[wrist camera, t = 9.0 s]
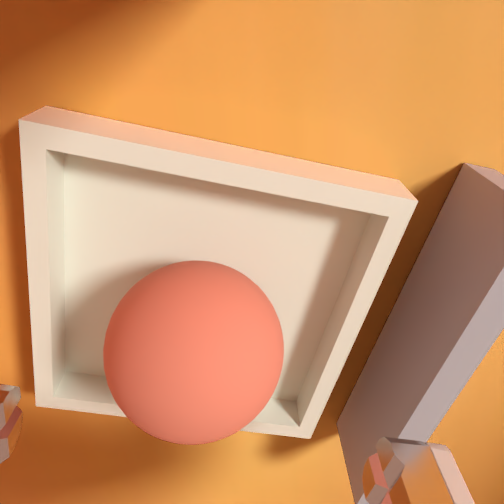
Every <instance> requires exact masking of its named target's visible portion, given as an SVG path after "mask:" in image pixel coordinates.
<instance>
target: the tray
mask: <svg viewBox="0 0 504 504" xmlns="http://www.w3.org/2000/svg"><path fill="white" fill-rule="evenodd" d="M19 135H20V152H21V168H22V185H23V201H24V218H25V235H26V251H27V268H28V284H29V301H30V318H31V334H32V351H33V367H34V384H35V401H36V406H39V407H47V408H55V409H64V410H72V411H81V412H89V413H97V414H106V415H114V416H122V417H127V416H126V415H125V414H124V413H123V411H122V410H121V409H120V408H119V406H118V405H117V403H116V401H115V400H114V398H113V396H112V394H111V392H110V389H109V387H108V384H107V380H106V376H105V371H104V361H103V348H104V341H105V334H106V331H107V328H108V325H109V322H110V319H111V316H112V314H113V313H114V311H115V309H116V307H117V305H118V304H119V302H120V300H121V299H122V298H123V297H124V295H125V294H126V293H127V292H128V291H129V290H130V289H131V288H132V287H133V286H134V285H135V284H136V283H137V282H138V281H139V280H141V279H142V278H144V277H145V276H147V275H148V274H150V273H151V272H153V271H155V270H157V269H159V268H162V267H164V266H167V265H170V264H173V263H178V262H182V261H192V260H197V261H210V262H215V263H219V264H223V265H226V266H228V267H231V268H233V269H235V270H237V271H239V272H241V273H242V274H244V275H245V276H247V277H248V278H249V279H251V280H252V281H253V282H254V283H255V284H256V285H258V286H259V287H260V289H261V290H262V291H263V292H264V293H265V295H266V296H267V297H268V299H269V300H270V302H271V303H272V305H273V307H274V309H275V311H276V314H277V316H278V318H279V321H280V325H281V329H282V334H283V341H284V358H283V366H282V371H281V375H280V378H279V381H278V384H277V386H276V389H275V391H274V393H273V395H272V396H271V398H270V400H269V401H268V403H267V404H266V406H265V407H264V409H263V410H262V411H261V412H260V413H259V414H258V415H257V416H256V417H255V418H254V420H252V421H251V422H250V423H249V424H248V425H246V426H245V427H243V428H242V429H241V430H240V431H248V432H256V433H265V434H273V435H282V436H290V437H298V438H307V439H310V438H311V436H312V434H313V432H314V430H315V427H316V425H317V423H318V421H319V419H320V416H321V414H322V412H323V410H324V408H325V405H326V403H327V401H328V399H329V397H330V394H331V392H332V390H333V388H334V386H335V383H336V381H337V379H338V377H339V375H340V373H341V370H342V368H343V366H344V364H345V362H346V359H347V357H348V355H349V353H350V351H351V348H352V346H353V344H354V342H355V340H356V337H357V335H358V333H359V331H360V329H361V326H362V324H363V322H364V320H365V318H366V315H367V313H368V311H369V309H370V307H371V304H372V302H373V300H374V298H375V296H376V293H377V291H378V289H379V287H380V285H381V282H382V280H383V278H384V276H385V274H386V271H387V269H388V267H389V265H390V263H391V260H392V258H393V256H394V254H395V252H396V249H397V247H398V245H399V243H400V241H401V238H402V236H403V234H404V232H405V230H406V227H407V225H408V223H409V221H410V219H411V216H412V214H413V212H414V210H415V208H416V205H417V203H418V200H417V199H416V198H415V197H414V196H413V195H412V194H411V192H410V191H409V190H408V189H407V188H406V187H405V186H404V185H403V184H402V183H401V182H400V181H399V180H397V179H393V178H388V177H383V176H378V175H374V174H369V173H364V172H359V171H355V170H350V169H345V168H340V167H336V166H331V165H326V164H321V163H317V162H312V161H307V160H302V159H298V158H293V157H288V156H283V155H279V154H274V153H269V152H264V151H260V150H255V149H250V148H245V147H241V146H236V145H231V144H226V143H222V142H217V141H212V140H207V139H203V138H198V137H193V136H188V135H184V134H179V133H174V132H169V131H165V130H160V129H155V128H150V127H146V126H141V125H136V124H131V123H127V122H122V121H117V120H112V119H108V118H103V117H98V116H93V115H89V114H84V113H79V112H74V111H69V110H65V109H60V108H55V107H50V106H44V107H42V108H40V109H38V110H36V111H34V112H32V113H30V114H28V115H26V116H24V117H22V118H20V119H19Z"/></svg>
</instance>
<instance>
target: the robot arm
mask: <svg viewBox="0 0 504 504" xmlns="http://www.w3.org/2000/svg"><path fill="white" fill-rule="evenodd" d="M20 398H21V394H20V387H16V386H10V385H4V384H0V463H2V462H3V461H5V460H6V459H7V458H9V457H10V455H11V453H12V451H13V449H14V447H15V445H16V443H17V440H18V437H19V434H20V432H21V428H22V421H23V416H22V411H21V410H20V409H19V408H18V407H17V406H16V405H17V404H18V402H19V400H20ZM375 446H376V450H377V453H376V454H374V455H372V456H370V457H368V459H367V461H366V463H365V465H364V469H363V476H362V481H363V490H364V495H365V499H366V501H367V502H368V503H369V504H475V503H474V501H473V498H472V496H471V494H470V492H469V490H468V488H467V485H466V483H465V481H464V479H463V477H462V475H461V472H460V470H459V468H458V466H457V464H456V462H455V460H454V457H453V455H452V453H451V451H450V450H449V449H448V447H447V446H446V445H441V444H434V443H426V442H422V441H415V440H407V439H399V438H391V437H383V438H381V439H379V441H378V442H377V444H376V445H375Z"/></svg>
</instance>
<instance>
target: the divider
mask: <svg viewBox="0 0 504 504" xmlns="http://www.w3.org/2000/svg"><path fill="white" fill-rule="evenodd" d="M503 329H504V175H502V174H501V173H499V172H498V171H496V170H495V169H490V168H486V167H481V166H477V165H472V164H468V163H464V164H463V166H462V168H461V170H460V172H459V174H458V176H457V178H456V180H455V182H454V184H453V186H452V188H451V190H450V192H449V195H448V197H447V199H446V201H445V203H444V205H443V207H442V209H441V211H440V213H439V215H438V217H437V219H436V221H435V223H434V225H433V227H432V229H431V231H430V233H429V235H428V237H427V239H426V241H425V244H424V246H423V248H422V250H421V252H420V254H419V256H418V258H417V260H416V262H415V264H414V266H413V268H412V270H411V272H410V274H409V276H408V278H407V280H406V282H405V284H404V286H403V288H402V290H401V293H400V295H399V297H398V299H397V301H396V303H395V305H394V307H393V309H392V311H391V313H390V315H389V317H388V319H387V321H386V323H385V325H384V327H383V329H382V331H381V333H380V335H379V337H378V339H377V342H376V344H375V346H374V348H373V350H372V352H371V354H370V356H369V358H368V360H367V362H366V364H365V366H364V368H363V370H362V372H361V374H360V376H359V378H358V380H357V382H356V384H355V386H354V388H353V390H352V393H351V395H350V397H349V399H348V401H347V403H346V405H345V407H344V409H343V411H342V413H341V415H340V417H339V419H338V421H337V423H336V424H337V429H338V433H339V437H340V441H341V446H342V450H343V454H344V459H345V463H346V467H347V472H348V476H349V480H350V484H351V489H352V493H353V497H354V502H355V504H369V503H368V502H367V501H366V499H365V495H364V490H363V481H362V476H363V469H364V465H365V463H366V461H367V459H368V457H370V456H372V455H374V454H376V453H377V450H376V446H375V445H376V444H377V442H378V441H379V439H381V438H383V437H391V438H399V439H407V440H415V441H422V442H427V441H428V439H429V438H430V436H431V435H432V433H433V432H434V430H435V429H436V427H437V426H438V424H439V423H440V422H441V420H442V419H443V417H444V416H445V414H446V413H447V411H448V410H449V408H450V407H451V405H452V404H453V402H454V401H455V399H456V398H457V396H458V395H459V394H460V392H461V391H462V389H463V388H464V386H465V385H466V383H467V382H468V380H469V379H470V377H471V376H472V374H473V373H474V371H475V370H476V368H477V367H478V366H479V364H480V363H481V361H482V360H483V358H484V357H485V355H486V354H487V352H488V351H489V349H490V348H491V346H492V345H493V343H494V342H495V340H496V339H497V338H498V336H499V335H500V333H501V332H502V330H503Z"/></svg>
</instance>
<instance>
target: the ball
mask: <svg viewBox="0 0 504 504" xmlns="http://www.w3.org/2000/svg"><path fill="white" fill-rule="evenodd" d="M283 358H284V341H283V334H282V329H281V325H280V321H279V318H278V316H277V314H276V311H275V309H274V307H273V305H272V303H271V302H270V300H269V299H268V297H267V296H266V295H265V293H264V292H263V291H262V290H261V289H260V287H259V286H258V285H256V284H255V283H254V282H253V281H252V280H251V279H249V278H248V277H247V276H245V275H244V274H242V273H241V272H239V271H237V270H235V269H233V268H231V267H228V266H226V265H223V264H219V263H215V262H210V261H197V260H192V261H182V262H178V263H173V264H170V265H167V266H164V267H162V268H159V269H157V270H155V271H153V272H151V273H150V274H148V275H147V276H145V277H144V278H142V279H141V280H139V281H138V282H137V283H136V284H135V285H134V286H133V287H132V288H131V289H130V290H129V291H128V292H127V293H126V294H125V295H124V297H123V298H122V299H121V300H120V302H119V304H118V305H117V307H116V309H115V311H114V313H113V314H112V316H111V319H110V322H109V325H108V328H107V331H106V334H105V341H104V348H103V361H104V371H105V376H106V380H107V384H108V387H109V389H110V392H111V394H112V396H113V398H114V400H115V401H116V403H117V405H118V406H119V408H120V409H121V410H122V411H123V413H124V414H125V415H126V416H127V418H128V419H129V420H130V421H132V422H133V423H134V424H135V425H136V426H138V427H139V428H140V429H142V430H143V431H145V432H146V433H148V434H150V435H152V436H154V437H156V438H158V439H161V440H164V441H168V442H172V443H177V444H189V445H195V444H205V443H210V442H214V441H217V440H220V439H223V438H225V437H228V436H230V435H232V434H234V433H236V432H237V431H239V430H241V429H242V428H243V427H245V426H246V425H248V424H249V423H250V422H251V421H252V420H254V418H255V417H256V416H257V415H258V414H259V413H260V412H261V411H262V410H263V409H264V407H265V406H266V404H267V403H268V401H269V400H270V398H271V396H272V395H273V393H274V391H275V389H276V386H277V384H278V381H279V378H280V375H281V371H282V366H283Z"/></svg>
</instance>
